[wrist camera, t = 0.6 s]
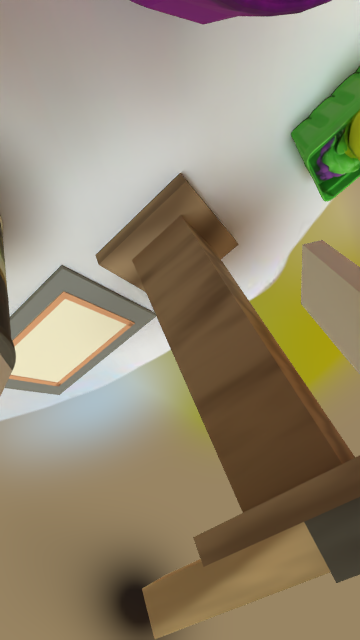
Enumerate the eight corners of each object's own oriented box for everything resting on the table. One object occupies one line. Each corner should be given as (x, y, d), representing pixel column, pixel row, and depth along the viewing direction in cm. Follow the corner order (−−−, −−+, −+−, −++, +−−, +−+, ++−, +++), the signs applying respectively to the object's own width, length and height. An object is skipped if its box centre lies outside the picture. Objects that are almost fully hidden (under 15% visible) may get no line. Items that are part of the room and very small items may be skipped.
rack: (95, 255, 33) (203, 567, 18) (180, 173, 30) (405, 476, 14) (162, 295, 43) (270, 522, 27) (232, 237, 39) (402, 461, 24)
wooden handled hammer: (119, 601, 22) (131, 658, 21) (368, 488, 17) (412, 555, 15) (180, 566, 29) (193, 607, 27) (376, 475, 23) (408, 520, 21)
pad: (-50, 377, 39) (-50, 382, 39) (61, 265, 33) (62, 269, 32) (58, 392, 52) (59, 395, 51) (155, 313, 45) (156, 317, 45)
